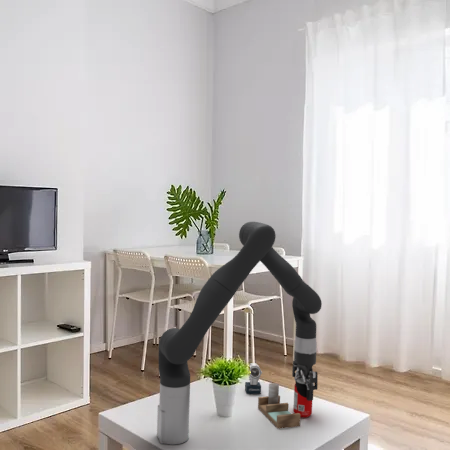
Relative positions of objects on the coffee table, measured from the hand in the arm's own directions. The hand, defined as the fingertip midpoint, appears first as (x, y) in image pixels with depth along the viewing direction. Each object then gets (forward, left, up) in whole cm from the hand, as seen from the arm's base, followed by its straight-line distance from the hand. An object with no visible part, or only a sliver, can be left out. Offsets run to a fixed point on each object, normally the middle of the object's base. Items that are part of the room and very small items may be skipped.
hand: (303, 395), depth 177 cm
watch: (-9, +24, -7) cm, 27 cm away
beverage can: (0, 0, -7) cm, 7 cm away
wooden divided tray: (-9, 0, -7) cm, 11 cm away
